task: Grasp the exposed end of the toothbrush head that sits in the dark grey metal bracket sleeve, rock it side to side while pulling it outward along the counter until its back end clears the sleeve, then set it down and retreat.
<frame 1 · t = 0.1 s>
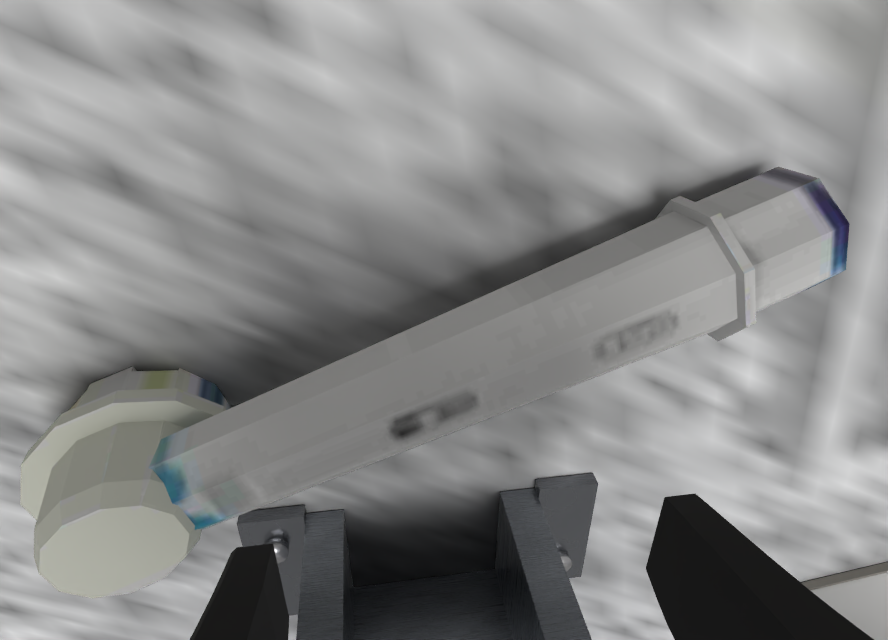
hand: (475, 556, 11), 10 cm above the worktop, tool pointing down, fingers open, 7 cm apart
toothbrush head: (416, 323, 20), on the worktop
bracket sleeve: (424, 541, 25), on the worktop
skyscraper: (827, 601, 33), on the worktop
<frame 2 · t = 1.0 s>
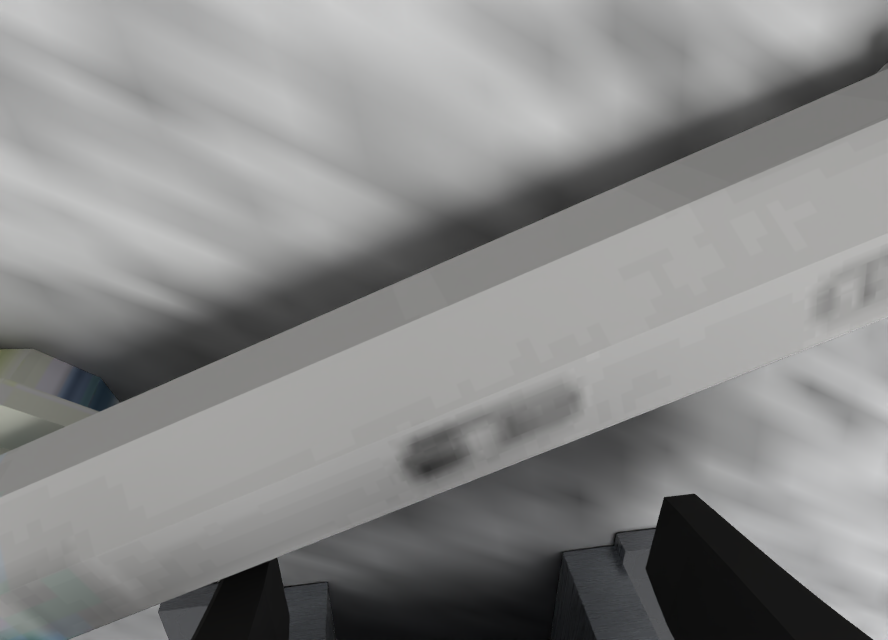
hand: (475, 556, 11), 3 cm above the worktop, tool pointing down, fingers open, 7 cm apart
toothbrush head: (442, 274, 12), on the worktop, touching gripper
bracket sleeve: (447, 622, 17), on the worktop
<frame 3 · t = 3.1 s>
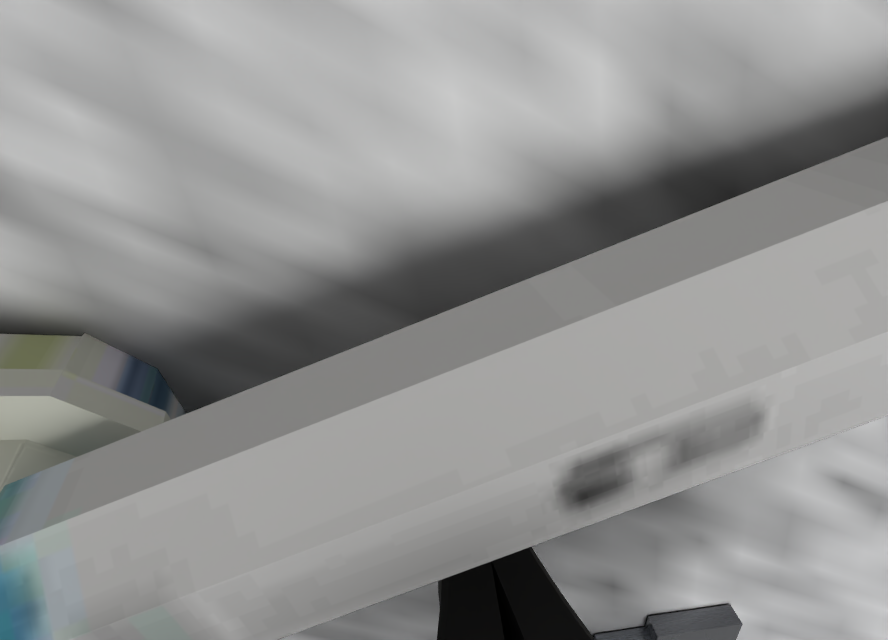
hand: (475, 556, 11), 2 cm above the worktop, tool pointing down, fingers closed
toothbrush head: (538, 271, 11), on the worktop
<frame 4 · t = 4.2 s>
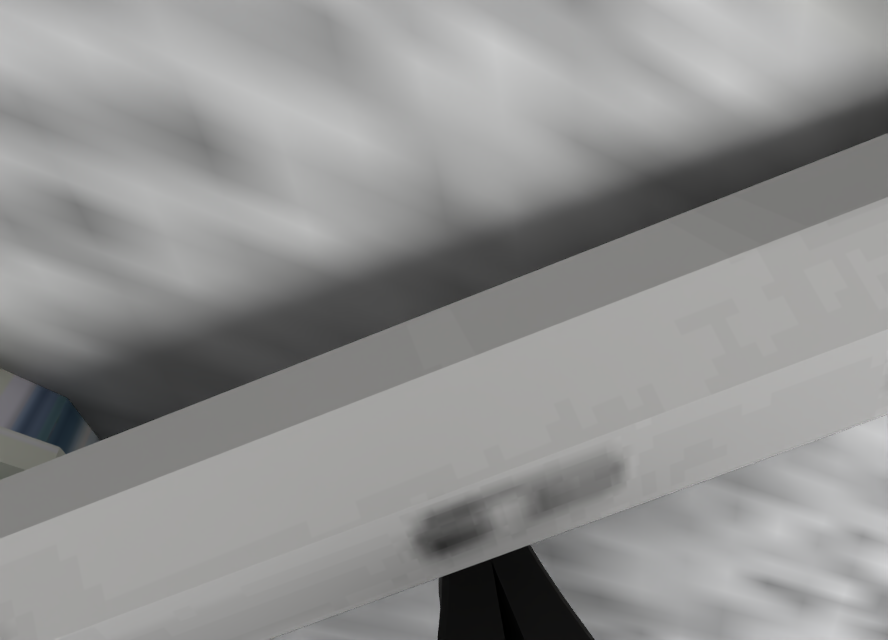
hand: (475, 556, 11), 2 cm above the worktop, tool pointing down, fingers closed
toothbrush head: (454, 301, 11), on the worktop, touching gripper
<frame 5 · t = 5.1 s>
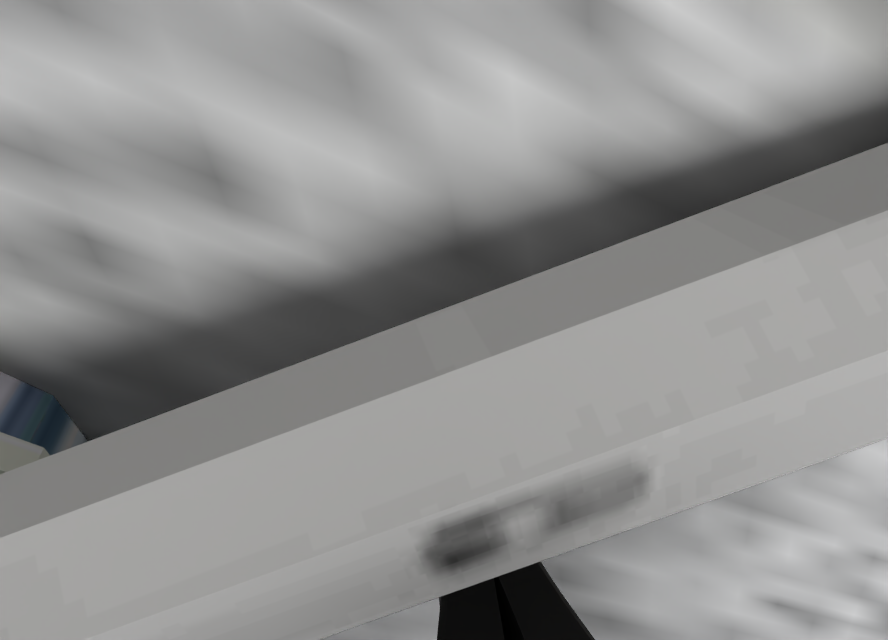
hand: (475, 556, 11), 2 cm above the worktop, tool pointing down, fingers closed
toothbrush head: (461, 300, 11), on the worktop
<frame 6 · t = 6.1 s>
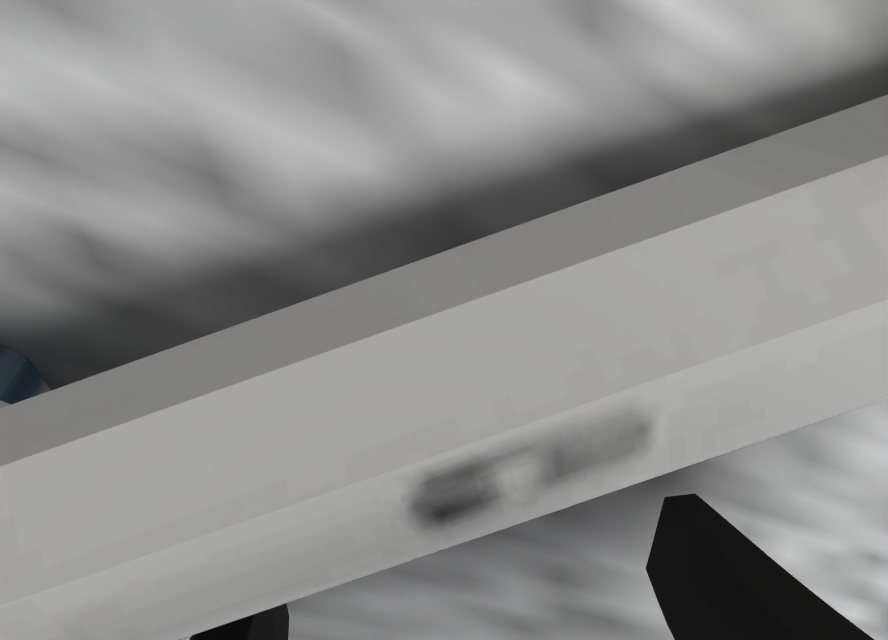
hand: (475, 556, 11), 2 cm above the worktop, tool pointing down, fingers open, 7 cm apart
toothbrush head: (454, 263, 10), on the worktop
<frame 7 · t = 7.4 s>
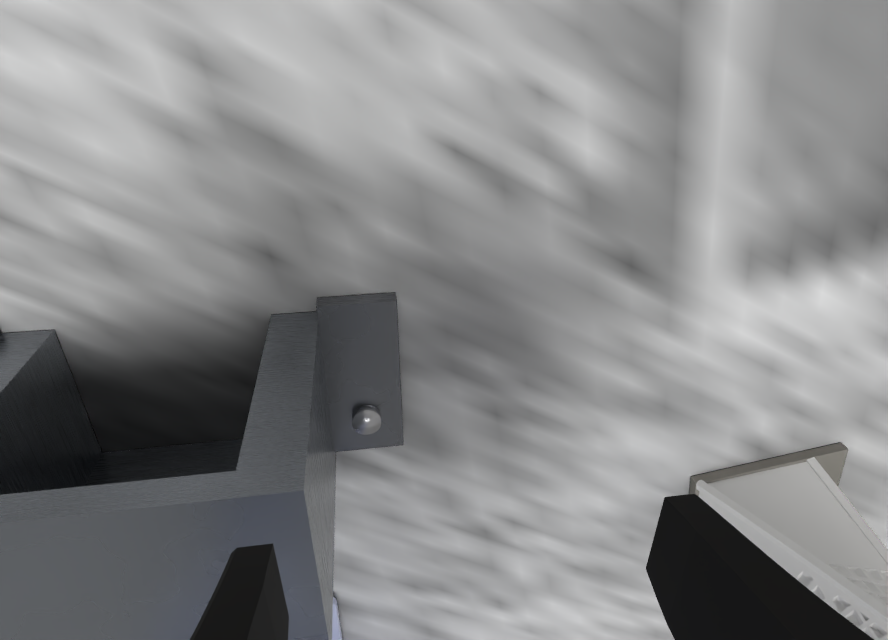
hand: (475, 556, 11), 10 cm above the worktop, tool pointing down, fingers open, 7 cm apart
bracket sleeve: (183, 386, 19), on the worktop
skyscraper: (740, 504, 27), on the worktop
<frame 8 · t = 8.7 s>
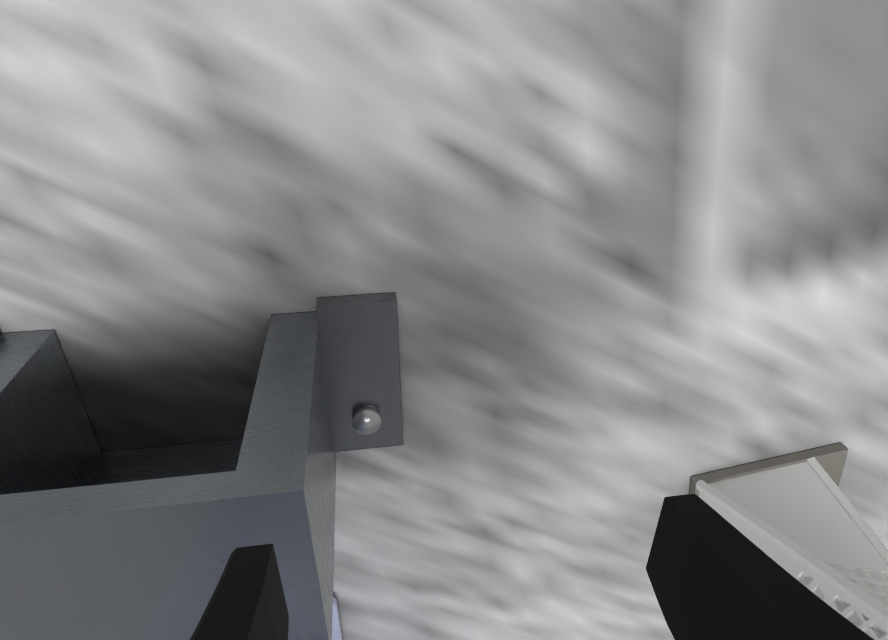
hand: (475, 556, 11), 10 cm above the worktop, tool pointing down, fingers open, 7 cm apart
bracket sleeve: (183, 386, 19), on the worktop
skyscraper: (740, 504, 27), on the worktop
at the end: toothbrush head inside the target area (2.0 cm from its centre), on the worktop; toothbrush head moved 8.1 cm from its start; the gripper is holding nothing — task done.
